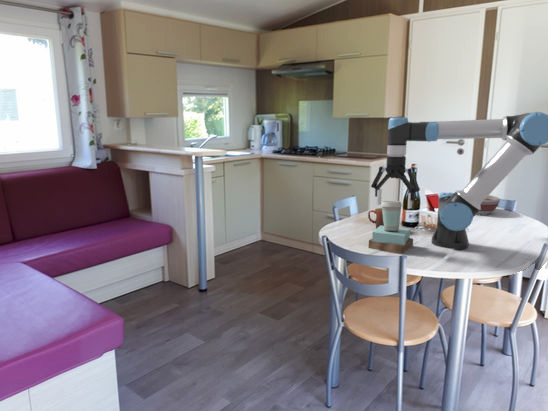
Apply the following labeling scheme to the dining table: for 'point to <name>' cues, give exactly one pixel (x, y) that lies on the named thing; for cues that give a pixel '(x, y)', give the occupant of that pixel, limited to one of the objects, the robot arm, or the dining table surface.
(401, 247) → the tower base
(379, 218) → the mug
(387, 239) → the tower top
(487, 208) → the bowl
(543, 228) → the dining table surface
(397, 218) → the coffee cup
